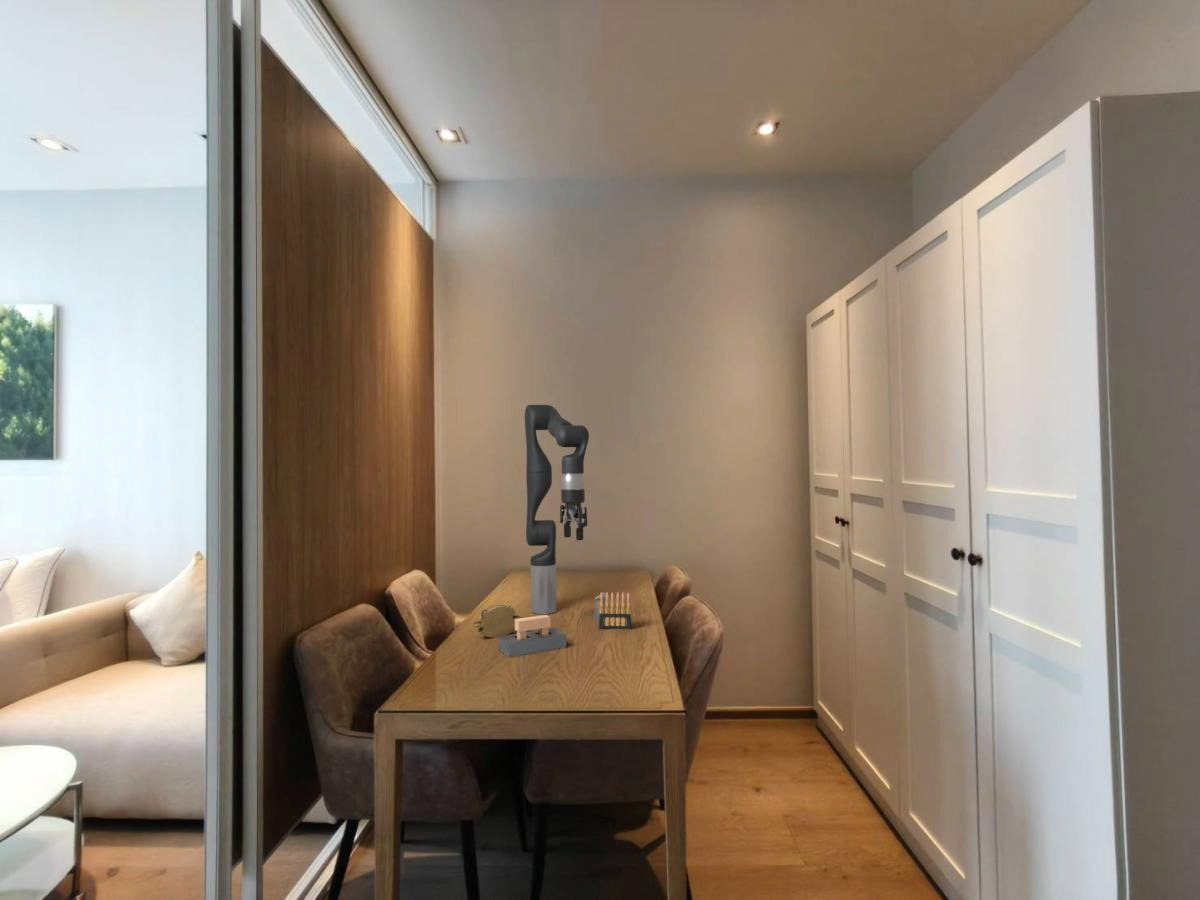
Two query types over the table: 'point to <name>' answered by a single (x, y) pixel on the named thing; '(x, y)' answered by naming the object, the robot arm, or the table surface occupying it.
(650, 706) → the table surface
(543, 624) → the prong clip
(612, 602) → the ammunition clip
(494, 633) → the wooden carving
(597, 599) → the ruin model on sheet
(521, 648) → the grey socket block
